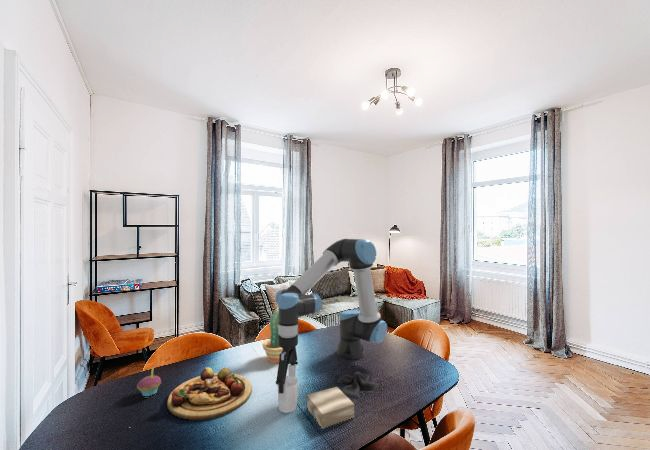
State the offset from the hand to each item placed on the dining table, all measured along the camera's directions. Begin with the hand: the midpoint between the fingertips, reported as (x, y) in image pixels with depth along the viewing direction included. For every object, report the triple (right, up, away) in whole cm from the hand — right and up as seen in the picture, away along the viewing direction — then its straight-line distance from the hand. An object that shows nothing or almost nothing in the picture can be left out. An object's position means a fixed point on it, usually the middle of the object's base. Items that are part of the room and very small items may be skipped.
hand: (287, 390), depth 110 cm
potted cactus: (-11, -7, +42) cm, 44 cm away
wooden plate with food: (-32, -7, +8) cm, 34 cm away
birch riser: (+16, -7, -3) cm, 18 cm away
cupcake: (-58, -7, +9) cm, 59 cm away
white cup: (0, -7, 0) cm, 7 cm away
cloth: (+30, -8, +16) cm, 35 cm away
